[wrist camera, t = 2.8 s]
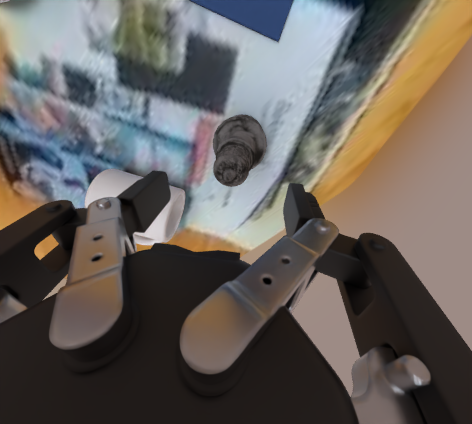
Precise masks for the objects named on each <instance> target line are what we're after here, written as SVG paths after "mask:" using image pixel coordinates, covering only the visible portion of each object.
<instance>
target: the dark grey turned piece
mask: <svg viewBox="0 0 472 424" xmlns="http://www.w3.org/2000/svg"><path fill="white" fill-rule="evenodd" d="M266 146H267V145H266V137H265V134H264V132H263V130H262V128H261V126H260V124H259V123H258V121H257V120H255V119H254V118H253V117H251V116H248V115H236V116H234V117H231V118H229V119H227V120H225V121H224V122H223V123H222V124H221V125H220V126H219V127H218V128H217V130H216V132H215V134H214V139H213V149H214V152H215V155H216V161H215V163H214V175H215V177H216V179H217V180H218V181H219V182H220V183H221V184H223V185H226V186H230V187H233V186H238V185H240V184H242V183H243V182H244V181H245V180H246V178H247V176H248V174H249V171H250V170H251V169H253V168H254V167H255V166H257V165H258V164H259V163H260V162H261V160H262V159H263V157H264V155H265V152H266Z"/></svg>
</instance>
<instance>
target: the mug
mask: <svg viewBox="0 0 472 424" xmlns="http://www.w3.org/2000/svg"><path fill="white" fill-rule="evenodd" d="M142 178H144V177H140V176H137V175H134V174H131V173H127V172H124V171H121V170H117V169H107V170H105V171H103V172H101V173H100V174H99V175H98V176H96V178H95V179H94V180H93V181H92V183H91V184H90V186H89V188H88V191H87V194H86V198H85V208H88V205H89V204H90V203H92V202H93V201H95V200H98V199H101V198H105V197H117V196H118V195H119V194H121V193H122V192H123V191H125V190H126V189H127V188H128V187H130V186H131V185H133V184H134V183H135V182H136V181H137V180H140V179H142ZM169 187H170V192H171V198H170V201H169V202H168V204H167V205H166V206H165V207H164V209H163V210H162V211H161V213H160V214H159V215H158V216H157V218H156V219H155V220H154V221H153V223H152V224H151V225H150V226H149V228H148V229H147V230H146V231H145V233H139V232H134V234H133V235H134V238H135V243H137V244H141V245H154V243H161V242H168V241H169V240H170V239H171V238H172V237H173V235H174V233H175V232H176V230H177V227H178V225H179V223H180V220H181V217H182V214H183V210H184V205H185V192H184V190H183V189H180V188H177V187H173V186H170V185H169ZM139 235H140V236H139Z"/></svg>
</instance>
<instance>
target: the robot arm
mask: <svg viewBox="0 0 472 424" xmlns="http://www.w3.org/2000/svg"><path fill="white" fill-rule="evenodd" d="M170 198H171V192H170V187H169V182H168V177H167V174H166V172H163V171H152V172H150V173H149V174H148V175H147V176H145V177H144V178H142V179H140V180H137V181H136V182H135V183H134V184H133V185H131V186H130V187H128V188H127V189H126V190H125V191H123V192H122V193H121V194H119V195H118V196H117V197H105V198H101V199H98V200H95V201H93V202H92V203H90V204H89V205H88V208H78V209H75V207H74V206H73V204H72V202H71V201H68V200H59V201H54V202H50V203H47V204H45V205H43V206H41V207H39V208H37V209H36V210H34V211H32V212H31V213H29V214H27V215H26V216H24V217H22V218H21V219H19V220H17V221H16V222H14V223H12V224H11V225H9V226H7V227H5V228H4V229H2V230H0V424H472V351H471V350H470V348H469V347H468V345H467V344H466V343H465V341H464V340H463V339H462V337H461V336H460V334H459V333H458V332H457V330H456V329H455V328H454V326H453V325H452V323H451V322H450V321H449V319H448V318H447V317H446V315H445V314H444V312H443V311H442V310H441V308H440V307H439V306H438V304H437V303H436V301H435V300H434V299H433V297H432V296H431V295H430V293H429V292H428V290H427V289H426V288H425V286H424V285H423V284H422V282H421V281H420V280H419V278H418V277H417V275H416V274H415V273H414V271H413V270H412V268H411V267H410V266H409V264H408V263H407V262H406V260H405V259H404V257H403V256H402V255H401V253H400V252H399V251H398V249H397V248H396V247H395V245H394V244H392V242H390V241H389V240H387V239H386V238H384V237H382V236H380V235H376V234H373V233H363V234H361V235H360V236H359V238H358V239H354V238H351V237H348V236H345V235H342V234H340V233H339V230H338V228H337V227H336V225H334V224H333V223H332V222H330V221H328V220H325V218H324V215H323V213H322V211H321V209H320V208H319V204H318V202H317V200H316V198H315V197H314V196H313V195H312V194H311V193H308V192H305V190H304V187H303V185H302V184H295V183H290V184H289V186H288V190H287V194H286V198H285V203H284V209H283V214H284V220H285V227H286V233H287V235H286V236H283V237H282V238H281V239H280V240H279V241H278V242H277V243H276V244H274V245H273V246H272V247H271V248H270V249H269V250H268V251H266V252H265V253H264V254H263V255H262V256H261V257H260V258H259V259H257V260H256V261H255V262H254V263H253V264H252V265H250V264H248V263H246V262H244V261H242V260H240V253H236V252H228V251H219V250H217V251H205V252H193V251H190V250H187V249H185V248H182V247H179V246H176V245H170V244H162V243H154V245H153V246H152V248H151V249H148V250H142V251H138V252H137V248H136V243H135V238H134V235H133V234H134V232H139V233H145V231H146V230H147V229H148V228H149V226H150V225H151V224H152V223H153V221H154V220H155V219H156V218H157V216H158V215H159V214H160V213H161V211H162V210H163V209H164V207H165V206H166V205H167V204H168V202H169V201H170ZM50 234H52V235H53V237H54V238H55V239H56V240H57V242H58V243H59V245H58V246H56V247H55V248H54V249H53V250H52V251H50V252H49V253H48V254H47V255H46V256H45V257H43V258H42V259H41V260H39V259H38V258H37V257H36V255H35V253H34V249H35V247H36V245H37V244H38V243H40V242H41V241H42V240H44V239H45V238H46V237H48V236H49V235H50ZM319 272H320V273H323V274H325V275H328V276H330V277H333V278H336V279H337V282H338V286H339V289H340V292H341V296H342V299H343V302H344V305H345V309H346V312H347V315H348V319H349V322H350V325H351V329H352V332H353V335H354V338H355V342H356V345H357V348H358V351H359V355H360V358H359V359H358V360H357V361H355V363H354V364H353V367H352V380H353V392H352V395H351V397H350V396H349V394H348V392H347V390H346V388H345V386H344V385H343V383H342V381H341V380H340V378H339V377H338V375H337V374H336V372H335V371H334V370H333V369H332V367H331V366H330V364H329V363H328V362H327V361H326V359H325V358H324V356H323V355H322V354H321V352H320V351H319V350H318V349H317V347H316V346H315V345H314V344H313V342H312V341H311V339H310V338H309V337H308V335H307V334H306V333H305V331H304V330H303V329H302V327H301V326H300V325H299V323H298V322H297V321H296V319H295V318H294V317H293V315H292V312H293V310H294V309H295V307H296V306H297V304H298V303H299V301H300V299H301V297H302V296H303V294H304V293H305V292H306V290H307V289H308V287H309V286H310V284H311V283H312V282H313V280H314V279H315V277H316V276H317V274H318V273H319ZM67 274H68V277H67V282H66V285H65V286H64V287H62V288H60V290H59V291H58V293H56V294H54V295H52V296H50V297H48V298H46V299H45V300H43V299H44V298H45V297H46V296H47V295H48V294H49V293H50V292H51V291H52V290H53V289H54V287H55V286H56V285H57V284H58V283H59V282H60V281H61V280H62V279H63V278H64V277H65V276H66V275H67ZM42 300H43V301H42Z"/></svg>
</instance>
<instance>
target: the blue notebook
mask: <svg viewBox="0 0 472 424" xmlns="http://www.w3.org/2000/svg"><path fill="white" fill-rule="evenodd" d="M190 1H192V2H194V3H196V4H198V5H200V6H202V7H205V8H207V9H209V10H211V11H213V12H215V13H217V14H220V15H222V16H224V17H226V18H228V19H230V20H232V21H235V22H237V23H239V24H241V25H243V26H245V27H247V28H250V29H252V30H254V31H256V32H258V33H260V34H262V35H265V36H267V37H269V38H271V39H273V40H275V41H277V42H278V41H279V38H280V35H281V33H282V30H283V27H284V24H285V21H286V18H287V16H288V13H289V10H290V7H291V4H292V2H293V0H190Z"/></svg>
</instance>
